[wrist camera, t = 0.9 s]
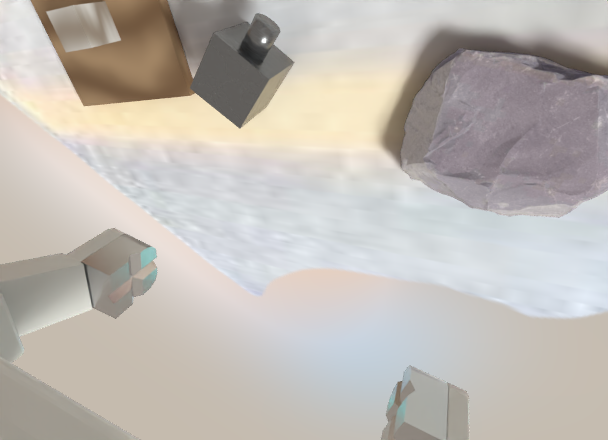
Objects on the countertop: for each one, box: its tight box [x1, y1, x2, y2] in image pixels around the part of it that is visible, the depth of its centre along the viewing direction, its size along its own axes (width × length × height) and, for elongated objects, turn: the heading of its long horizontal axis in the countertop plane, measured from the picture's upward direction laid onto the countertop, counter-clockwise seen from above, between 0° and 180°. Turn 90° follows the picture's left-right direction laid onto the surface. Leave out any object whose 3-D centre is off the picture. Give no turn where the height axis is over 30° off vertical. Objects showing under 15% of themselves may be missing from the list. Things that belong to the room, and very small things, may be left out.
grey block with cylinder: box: [190, 13, 294, 128], centre depth 37 cm, size 6×9×7 cm
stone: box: [400, 48, 608, 218], centre depth 34 cm, size 20×15×5 cm
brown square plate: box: [31, 0, 195, 106], centre depth 41 cm, size 18×18×6 cm
